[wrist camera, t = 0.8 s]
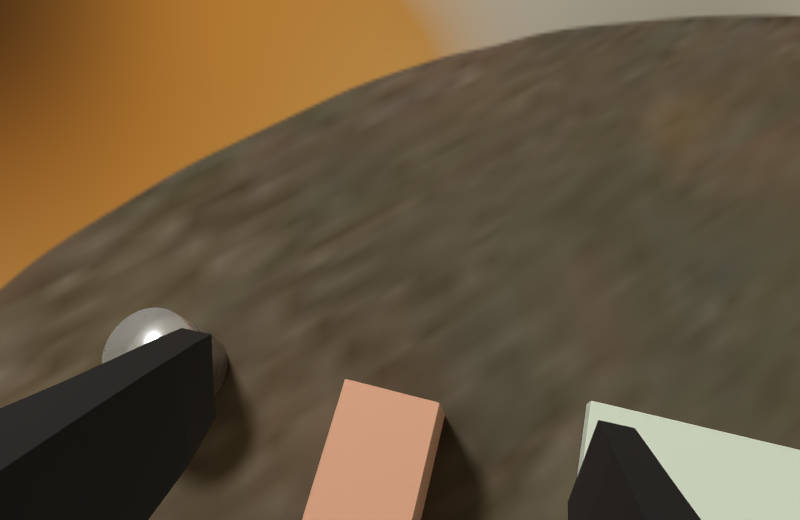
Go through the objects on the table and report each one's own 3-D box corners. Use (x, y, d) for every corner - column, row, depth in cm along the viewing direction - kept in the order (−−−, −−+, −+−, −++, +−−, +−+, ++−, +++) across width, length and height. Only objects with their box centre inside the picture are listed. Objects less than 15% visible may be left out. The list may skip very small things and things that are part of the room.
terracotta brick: (399, 613, 21) (384, 635, 18) (309, 581, 22) (278, 597, 19) (445, 416, 24) (439, 403, 21) (363, 395, 25) (345, 379, 22)
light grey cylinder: (209, 420, 26) (165, 407, 22) (139, 400, 26) (85, 384, 23) (239, 341, 27) (202, 317, 23) (172, 325, 28) (127, 299, 24)
